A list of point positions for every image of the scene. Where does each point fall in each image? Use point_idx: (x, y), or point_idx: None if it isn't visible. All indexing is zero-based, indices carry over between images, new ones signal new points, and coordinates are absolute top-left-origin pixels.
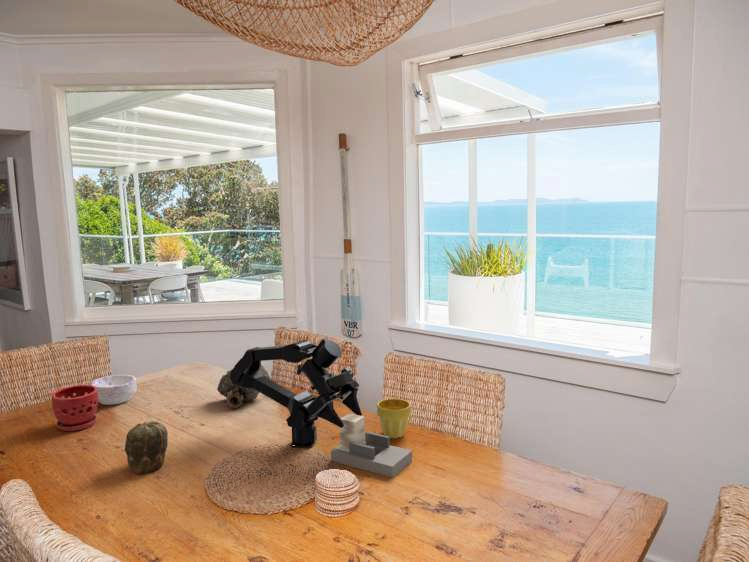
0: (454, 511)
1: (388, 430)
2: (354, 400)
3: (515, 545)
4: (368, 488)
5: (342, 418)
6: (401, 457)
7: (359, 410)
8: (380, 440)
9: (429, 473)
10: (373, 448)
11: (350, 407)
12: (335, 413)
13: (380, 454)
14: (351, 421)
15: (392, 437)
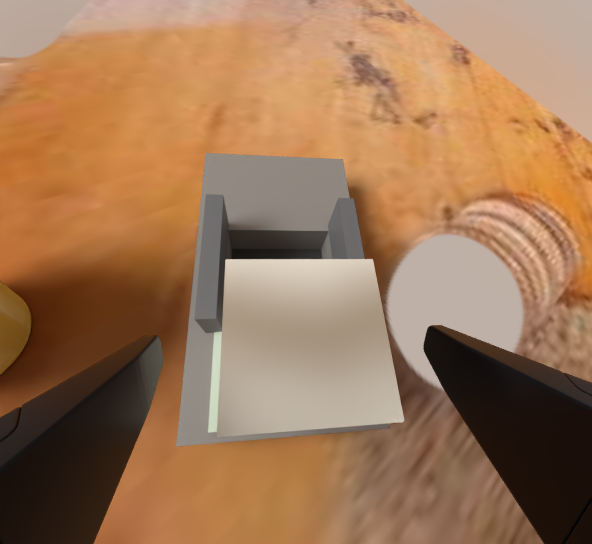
0: (369, 62)
1: (6, 323)
2: (14, 461)
3: (387, 3)
4: (419, 209)
5: (376, 404)
6: (272, 161)
7: (131, 354)
8: (223, 240)
9: (259, 126)
10: (349, 198)
11: (89, 519)
12: (579, 390)
13: (292, 222)
14: (374, 290)
15: (30, 316)
